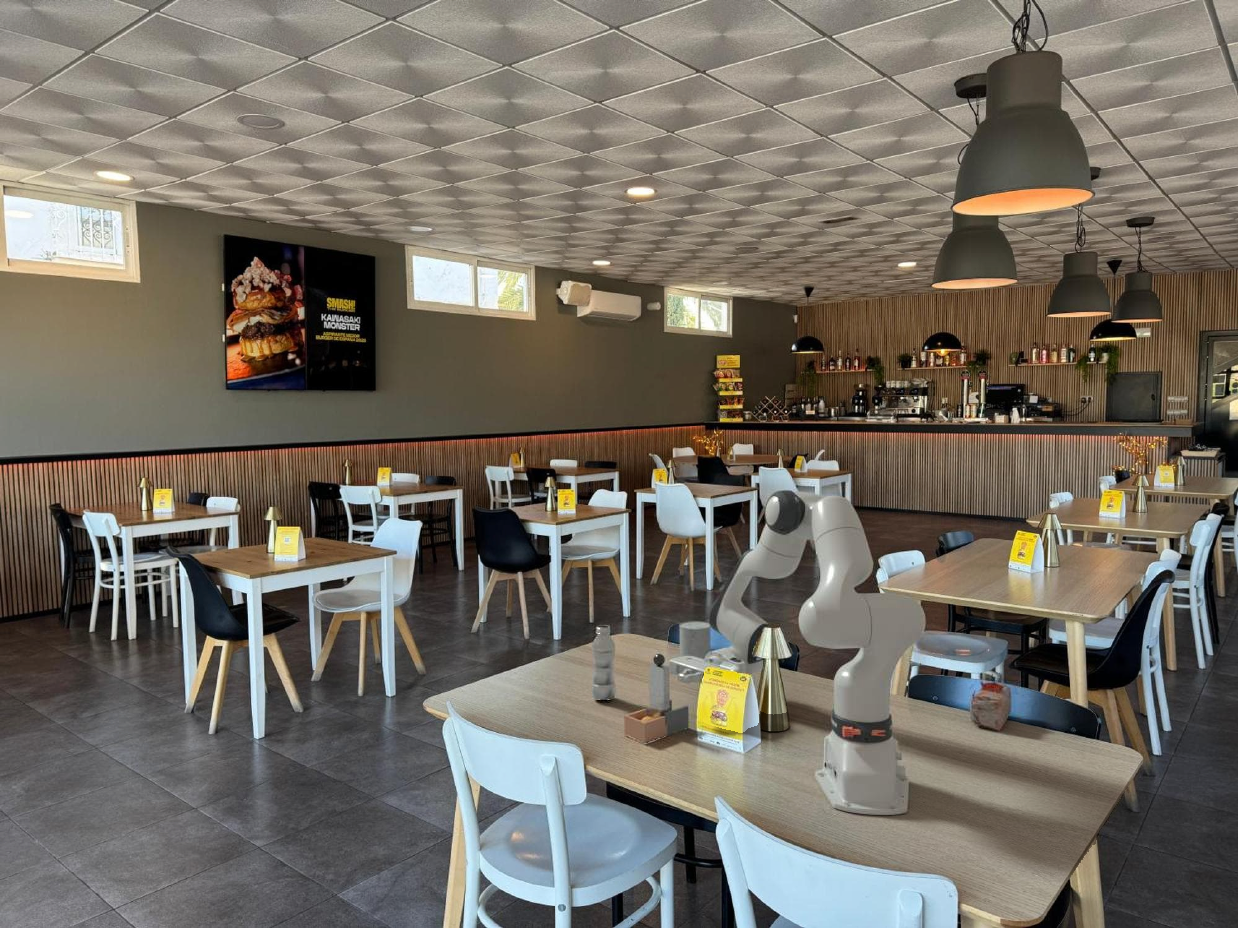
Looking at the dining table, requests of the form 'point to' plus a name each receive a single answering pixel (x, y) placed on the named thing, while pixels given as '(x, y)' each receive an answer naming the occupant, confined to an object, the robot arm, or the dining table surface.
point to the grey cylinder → (694, 639)
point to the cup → (644, 727)
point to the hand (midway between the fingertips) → (682, 678)
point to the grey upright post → (658, 687)
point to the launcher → (676, 719)
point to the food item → (991, 705)
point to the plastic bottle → (603, 664)
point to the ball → (647, 719)
